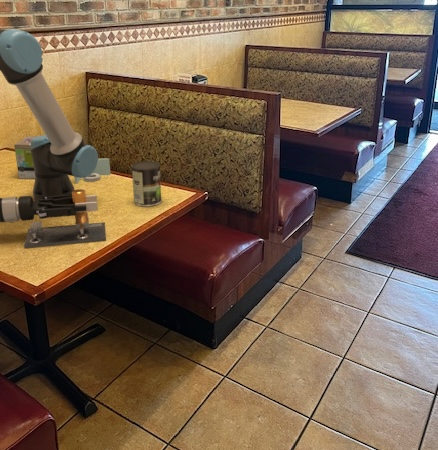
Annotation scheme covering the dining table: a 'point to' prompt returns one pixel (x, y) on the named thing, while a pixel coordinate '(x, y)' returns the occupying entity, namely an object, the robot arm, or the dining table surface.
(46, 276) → the dining table surface
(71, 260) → the dining table surface
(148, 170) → the coffee can
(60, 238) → the plate
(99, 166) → the l-shaped corner panel
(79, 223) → the sliding jaw
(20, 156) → the tea box
